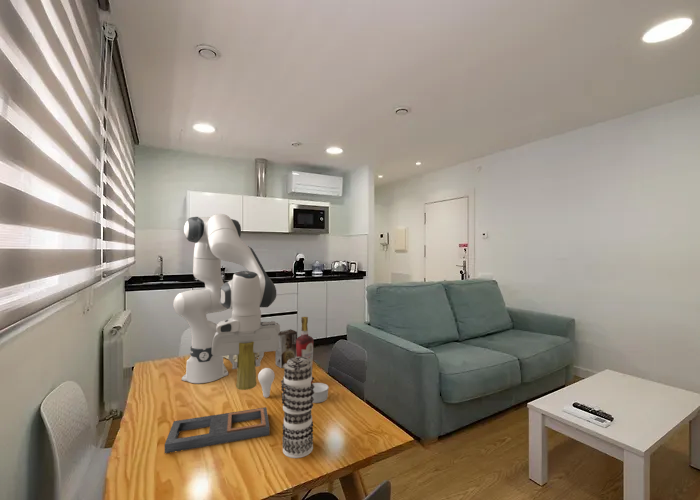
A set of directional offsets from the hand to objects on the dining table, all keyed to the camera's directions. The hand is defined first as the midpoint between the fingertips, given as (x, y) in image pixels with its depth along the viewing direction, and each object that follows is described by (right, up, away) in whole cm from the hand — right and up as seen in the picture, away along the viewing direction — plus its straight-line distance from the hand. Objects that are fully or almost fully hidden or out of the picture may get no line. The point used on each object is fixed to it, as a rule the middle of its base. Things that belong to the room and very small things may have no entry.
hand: (246, 367), depth 102 cm
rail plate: (-7, -19, -2) cm, 20 cm away
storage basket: (-26, -20, +70) cm, 77 cm away
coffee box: (+1, -20, +57) cm, 61 cm away
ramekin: (+20, -19, +20) cm, 35 cm away
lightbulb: (+1, -19, +21) cm, 29 cm away
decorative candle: (+18, -19, -11) cm, 28 cm away
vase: (0, -6, 0) cm, 6 cm away
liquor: (+14, -19, +33) cm, 41 cm away
